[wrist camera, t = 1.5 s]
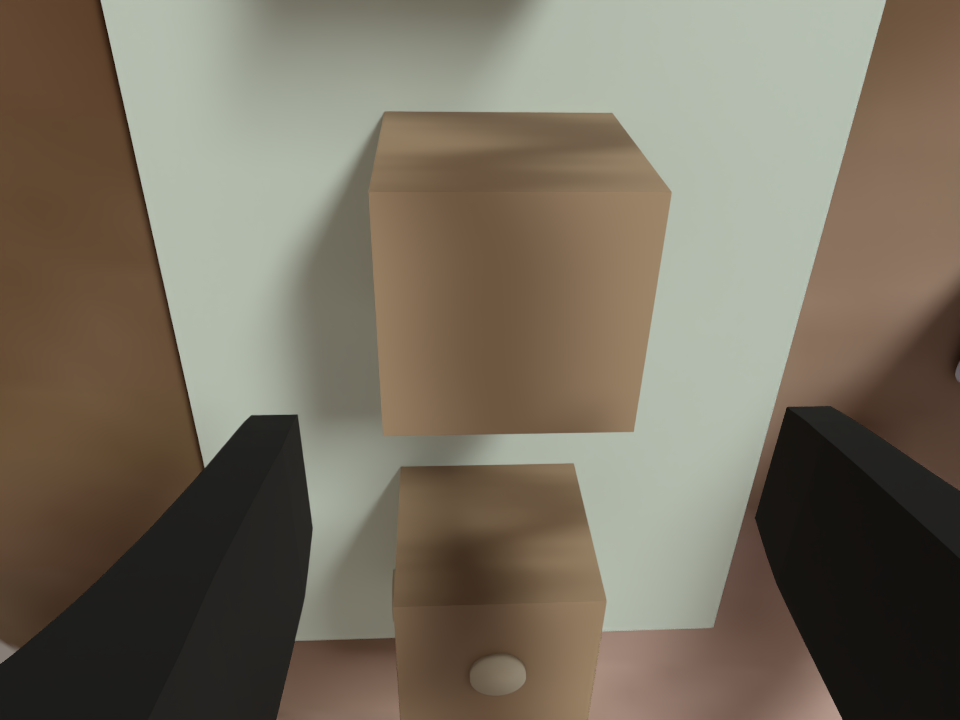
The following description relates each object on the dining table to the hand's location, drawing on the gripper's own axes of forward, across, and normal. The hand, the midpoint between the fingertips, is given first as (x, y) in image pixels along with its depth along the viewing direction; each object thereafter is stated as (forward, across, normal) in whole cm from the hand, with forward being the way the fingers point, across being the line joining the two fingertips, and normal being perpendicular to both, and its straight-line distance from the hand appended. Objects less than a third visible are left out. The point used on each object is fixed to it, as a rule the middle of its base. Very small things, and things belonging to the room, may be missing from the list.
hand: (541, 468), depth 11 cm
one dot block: (+9, 0, +10) cm, 13 cm away
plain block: (+9, 0, 0) cm, 9 cm away
